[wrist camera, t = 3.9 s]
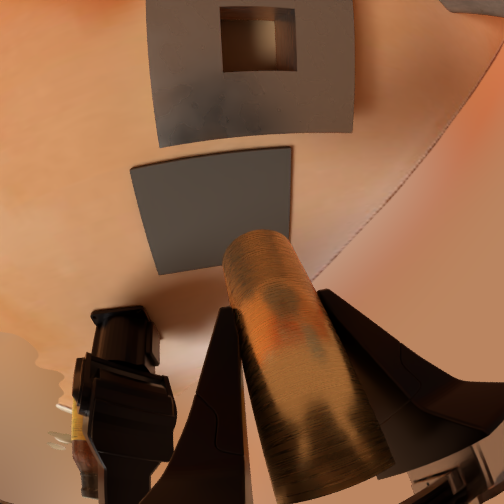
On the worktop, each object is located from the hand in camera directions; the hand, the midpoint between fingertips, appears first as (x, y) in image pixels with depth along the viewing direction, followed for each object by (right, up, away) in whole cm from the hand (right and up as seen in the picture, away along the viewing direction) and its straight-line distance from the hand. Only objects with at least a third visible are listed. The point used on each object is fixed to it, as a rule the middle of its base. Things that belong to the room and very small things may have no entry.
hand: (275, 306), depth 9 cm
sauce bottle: (-27, -20, +25) cm, 42 cm away
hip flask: (+14, +30, -1) cm, 33 cm away
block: (-1, +16, +5) cm, 17 cm away
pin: (0, +2, +2) cm, 3 cm away
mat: (-4, +5, +12) cm, 14 cm away
